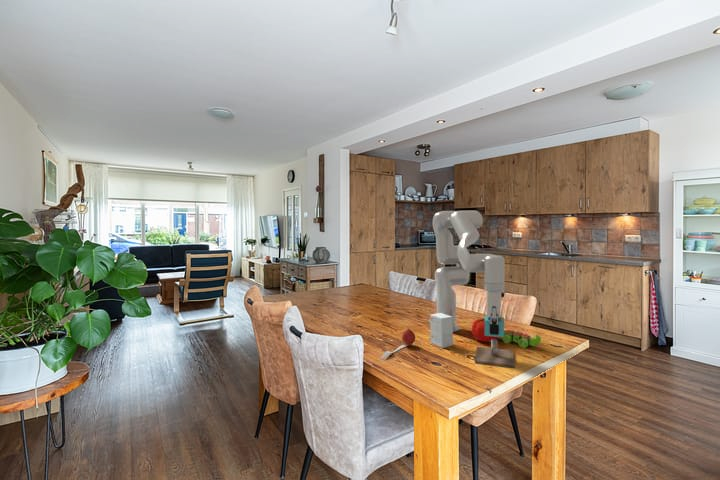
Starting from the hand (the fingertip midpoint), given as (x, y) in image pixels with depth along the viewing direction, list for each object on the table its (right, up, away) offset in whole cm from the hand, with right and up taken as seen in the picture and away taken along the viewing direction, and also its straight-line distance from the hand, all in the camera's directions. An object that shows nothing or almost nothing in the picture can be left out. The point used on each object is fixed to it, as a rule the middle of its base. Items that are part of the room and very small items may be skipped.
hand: (494, 331), depth 137 cm
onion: (-32, -11, +15) cm, 37 cm away
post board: (0, -11, 0) cm, 11 cm away
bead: (0, -1, 0) cm, 1 cm away
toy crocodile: (+16, -10, +16) cm, 25 cm away
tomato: (+4, -10, +20) cm, 23 cm away
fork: (-39, -12, +8) cm, 41 cm away
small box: (-17, -11, +17) cm, 26 cm away
